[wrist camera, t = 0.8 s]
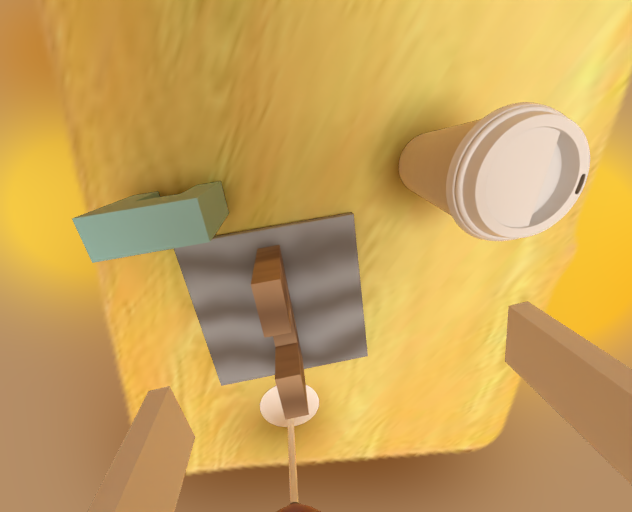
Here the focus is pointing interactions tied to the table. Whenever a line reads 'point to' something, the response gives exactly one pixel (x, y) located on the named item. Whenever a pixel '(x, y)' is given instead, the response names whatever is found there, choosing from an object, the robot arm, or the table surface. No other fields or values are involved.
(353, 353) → the joint base
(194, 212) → the green arch block
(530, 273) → the table surface
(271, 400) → the wineglass
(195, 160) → the table surface
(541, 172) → the coffee cup
